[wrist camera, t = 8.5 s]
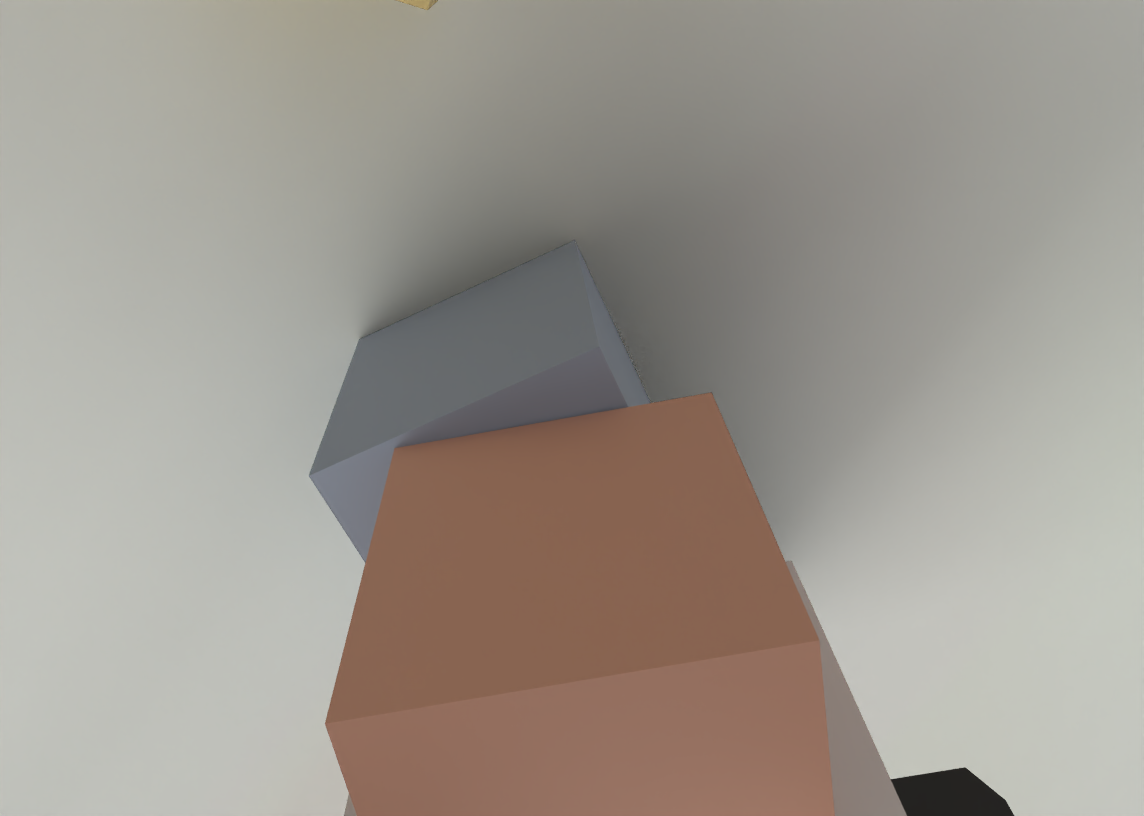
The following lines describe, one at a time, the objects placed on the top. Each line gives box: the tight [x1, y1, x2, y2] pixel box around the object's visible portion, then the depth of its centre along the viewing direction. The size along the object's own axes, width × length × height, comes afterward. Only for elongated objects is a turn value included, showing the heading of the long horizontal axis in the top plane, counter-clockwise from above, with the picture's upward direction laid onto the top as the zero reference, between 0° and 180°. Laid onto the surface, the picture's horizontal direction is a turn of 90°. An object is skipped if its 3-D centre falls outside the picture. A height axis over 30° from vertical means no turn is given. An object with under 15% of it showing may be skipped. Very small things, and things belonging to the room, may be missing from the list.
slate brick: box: [309, 240, 650, 563], centre depth 16 cm, size 8×4×5 cm, turn 24°
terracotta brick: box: [325, 392, 835, 816], centre depth 12 cm, size 8×4×5 cm, turn 10°
